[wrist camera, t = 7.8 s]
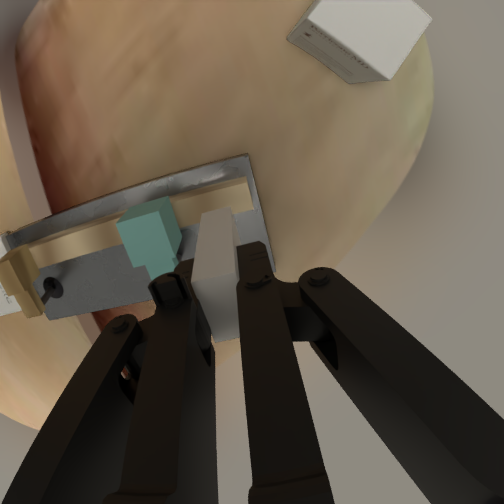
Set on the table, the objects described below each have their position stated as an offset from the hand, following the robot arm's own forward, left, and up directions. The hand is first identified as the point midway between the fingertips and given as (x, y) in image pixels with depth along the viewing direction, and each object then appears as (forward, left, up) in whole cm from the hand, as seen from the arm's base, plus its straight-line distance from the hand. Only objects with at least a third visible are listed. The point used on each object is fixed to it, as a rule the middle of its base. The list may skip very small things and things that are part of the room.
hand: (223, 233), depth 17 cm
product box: (+11, +10, -10) cm, 18 cm away
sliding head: (-5, -2, -8) cm, 10 cm away
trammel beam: (-10, -2, -8) cm, 13 cm away
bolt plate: (-10, -3, -9) cm, 14 cm away
